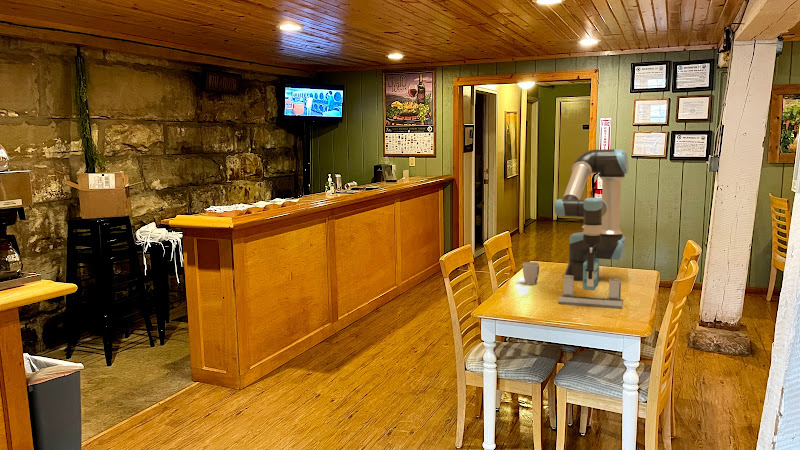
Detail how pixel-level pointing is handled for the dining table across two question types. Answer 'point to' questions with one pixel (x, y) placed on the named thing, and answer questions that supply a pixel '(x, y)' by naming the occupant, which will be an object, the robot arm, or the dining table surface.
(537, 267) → the cup
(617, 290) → the rail plate
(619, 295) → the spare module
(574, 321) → the dining table surface
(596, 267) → the data package
